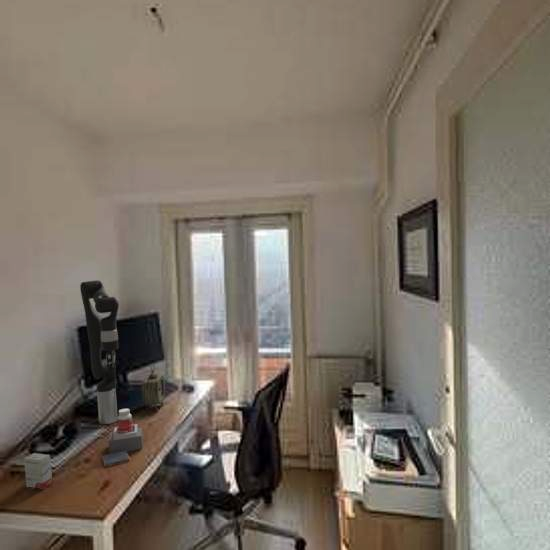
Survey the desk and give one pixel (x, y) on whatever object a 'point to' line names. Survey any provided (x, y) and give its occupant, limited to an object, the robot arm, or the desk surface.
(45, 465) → the ink box
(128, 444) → the display riser
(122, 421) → the pill bottle
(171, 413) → the desk surface
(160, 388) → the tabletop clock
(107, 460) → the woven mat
